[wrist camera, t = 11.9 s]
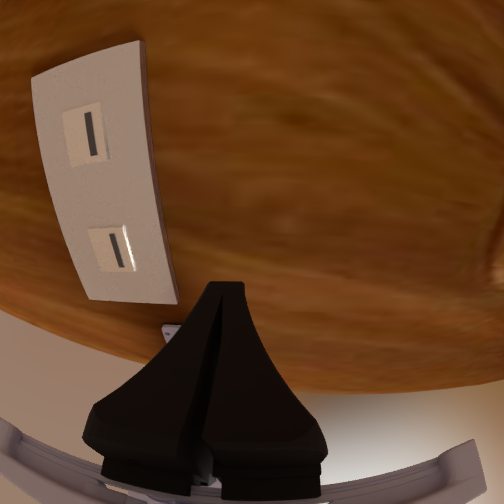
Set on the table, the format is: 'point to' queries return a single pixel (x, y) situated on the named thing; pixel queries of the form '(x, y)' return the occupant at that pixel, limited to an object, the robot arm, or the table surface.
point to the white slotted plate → (106, 174)
